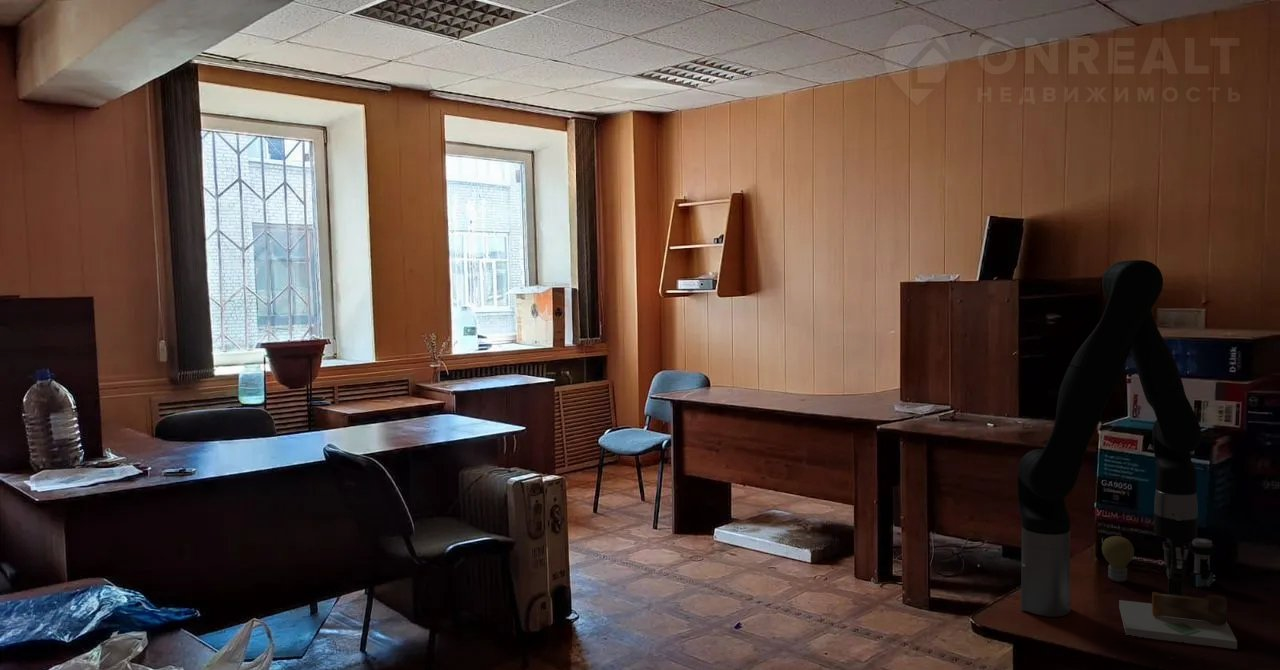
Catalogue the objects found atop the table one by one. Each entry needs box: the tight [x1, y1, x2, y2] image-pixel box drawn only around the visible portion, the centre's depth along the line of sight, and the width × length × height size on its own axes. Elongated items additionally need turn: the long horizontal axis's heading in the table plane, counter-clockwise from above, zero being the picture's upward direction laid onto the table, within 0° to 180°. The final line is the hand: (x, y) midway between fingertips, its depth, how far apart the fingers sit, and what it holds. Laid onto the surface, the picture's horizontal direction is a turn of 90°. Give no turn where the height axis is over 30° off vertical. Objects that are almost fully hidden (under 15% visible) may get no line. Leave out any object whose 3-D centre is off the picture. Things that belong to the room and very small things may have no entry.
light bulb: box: [1101, 535, 1135, 583], centre depth 197 cm, size 6×6×10 cm
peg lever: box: [1151, 591, 1228, 624], centre depth 171 cm, size 12×3×5 cm, turn 66°
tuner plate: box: [1118, 599, 1238, 650], centre depth 172 cm, size 18×15×2 cm
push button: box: [1187, 537, 1218, 588], centre depth 193 cm, size 7×5×10 cm
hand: (1174, 595), depth 178 cm, fingers closed
